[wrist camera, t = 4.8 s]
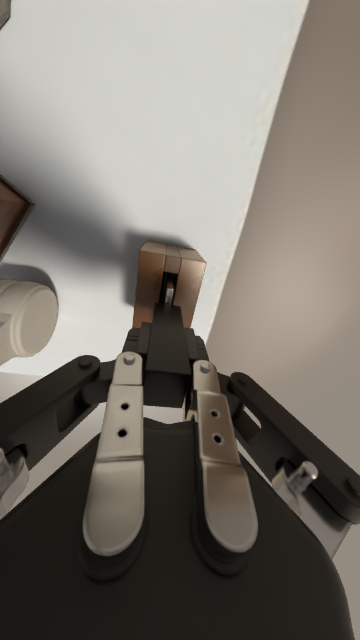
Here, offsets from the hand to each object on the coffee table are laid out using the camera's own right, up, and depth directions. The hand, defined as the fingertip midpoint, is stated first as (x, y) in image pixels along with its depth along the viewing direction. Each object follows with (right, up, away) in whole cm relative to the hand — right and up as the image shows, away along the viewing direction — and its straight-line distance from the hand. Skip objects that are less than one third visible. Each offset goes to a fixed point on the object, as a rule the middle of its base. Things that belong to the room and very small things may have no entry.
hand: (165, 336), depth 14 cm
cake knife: (-1, +6, +12) cm, 13 cm away
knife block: (-1, +6, +12) cm, 13 cm away
